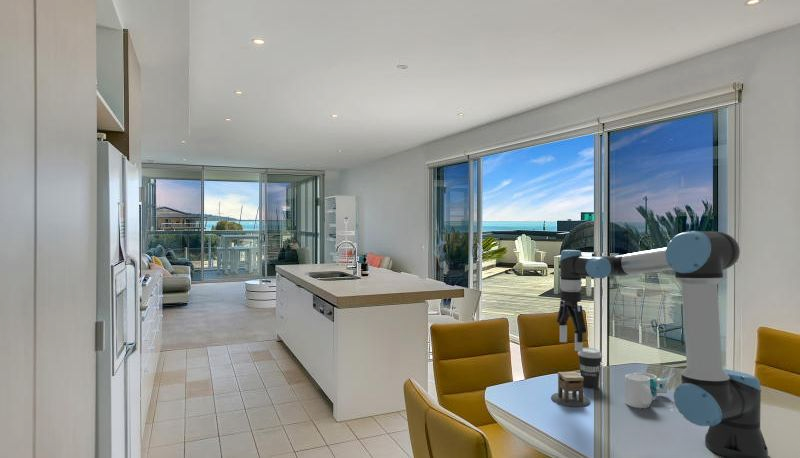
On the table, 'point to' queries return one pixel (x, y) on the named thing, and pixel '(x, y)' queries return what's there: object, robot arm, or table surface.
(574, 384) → the stool
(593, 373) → the coffee cup
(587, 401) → the mat
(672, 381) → the table surface
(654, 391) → the mug
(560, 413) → the table surface
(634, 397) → the mug
